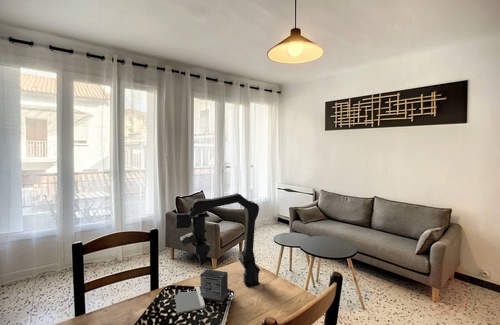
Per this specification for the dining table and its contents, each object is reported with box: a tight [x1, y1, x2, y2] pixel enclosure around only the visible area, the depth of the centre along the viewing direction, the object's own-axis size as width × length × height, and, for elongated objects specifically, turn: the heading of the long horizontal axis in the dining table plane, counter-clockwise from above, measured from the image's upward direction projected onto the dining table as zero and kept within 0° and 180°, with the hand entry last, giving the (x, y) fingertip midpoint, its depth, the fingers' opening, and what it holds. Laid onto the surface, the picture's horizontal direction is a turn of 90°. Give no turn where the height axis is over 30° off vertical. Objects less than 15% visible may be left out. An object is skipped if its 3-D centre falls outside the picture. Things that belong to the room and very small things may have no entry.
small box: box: [200, 268, 229, 303], centre depth 113 cm, size 11×6×10 cm, turn 71°
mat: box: [174, 286, 206, 315], centre depth 111 cm, size 11×16×2 cm
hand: (200, 261), depth 119 cm, fingers open, 9 cm apart
